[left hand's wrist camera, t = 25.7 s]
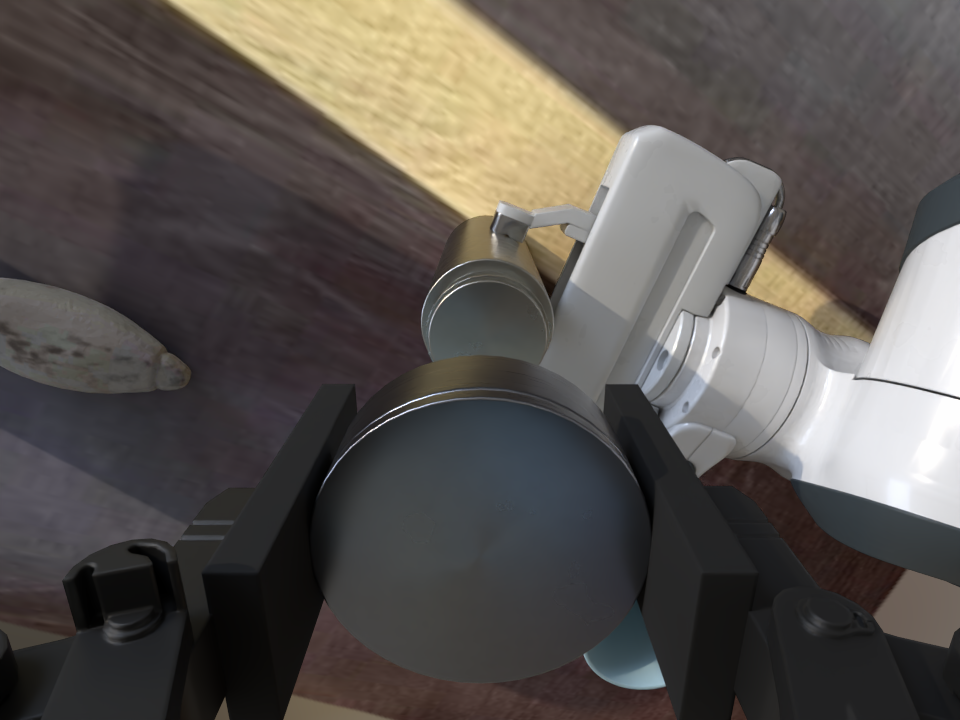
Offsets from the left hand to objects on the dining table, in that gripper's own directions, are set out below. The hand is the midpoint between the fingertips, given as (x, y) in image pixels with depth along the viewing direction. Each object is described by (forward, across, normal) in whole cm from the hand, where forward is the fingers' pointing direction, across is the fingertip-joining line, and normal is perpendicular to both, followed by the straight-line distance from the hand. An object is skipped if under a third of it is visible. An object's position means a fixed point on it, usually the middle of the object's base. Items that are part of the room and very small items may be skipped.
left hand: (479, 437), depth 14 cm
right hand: (+18, 0, 0) cm, 18 cm away
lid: (-4, 0, 0) cm, 4 cm away
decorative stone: (+25, -26, -5) cm, 36 cm away
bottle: (+25, 0, 0) cm, 25 cm away
